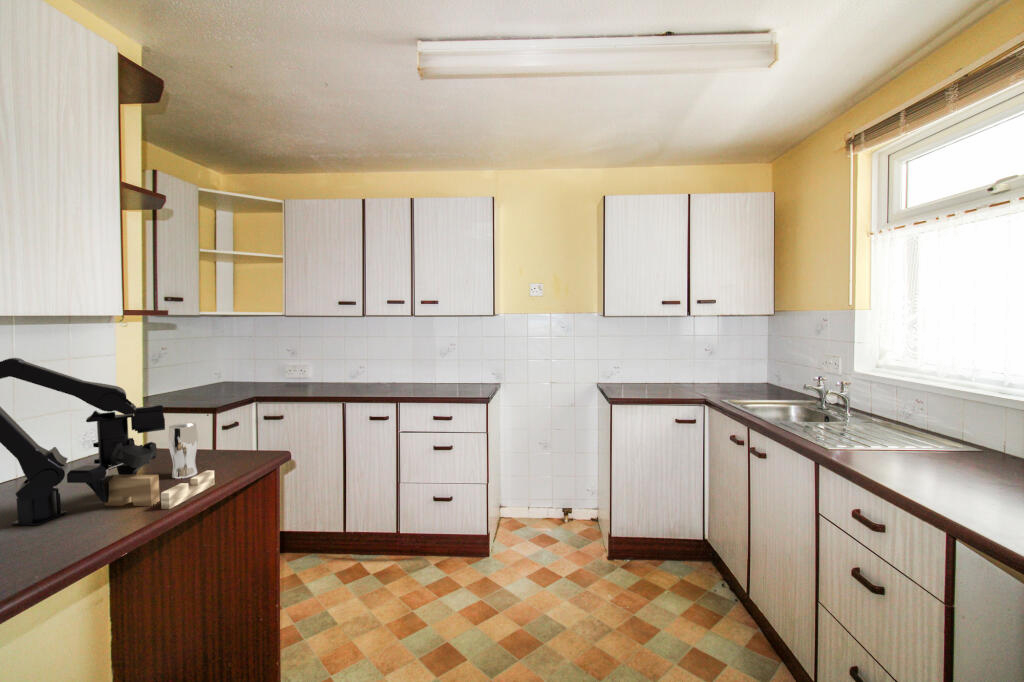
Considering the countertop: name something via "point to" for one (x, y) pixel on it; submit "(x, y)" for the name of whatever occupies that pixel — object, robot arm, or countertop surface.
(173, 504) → the birch rail
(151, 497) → the tan block
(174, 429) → the beer glass
